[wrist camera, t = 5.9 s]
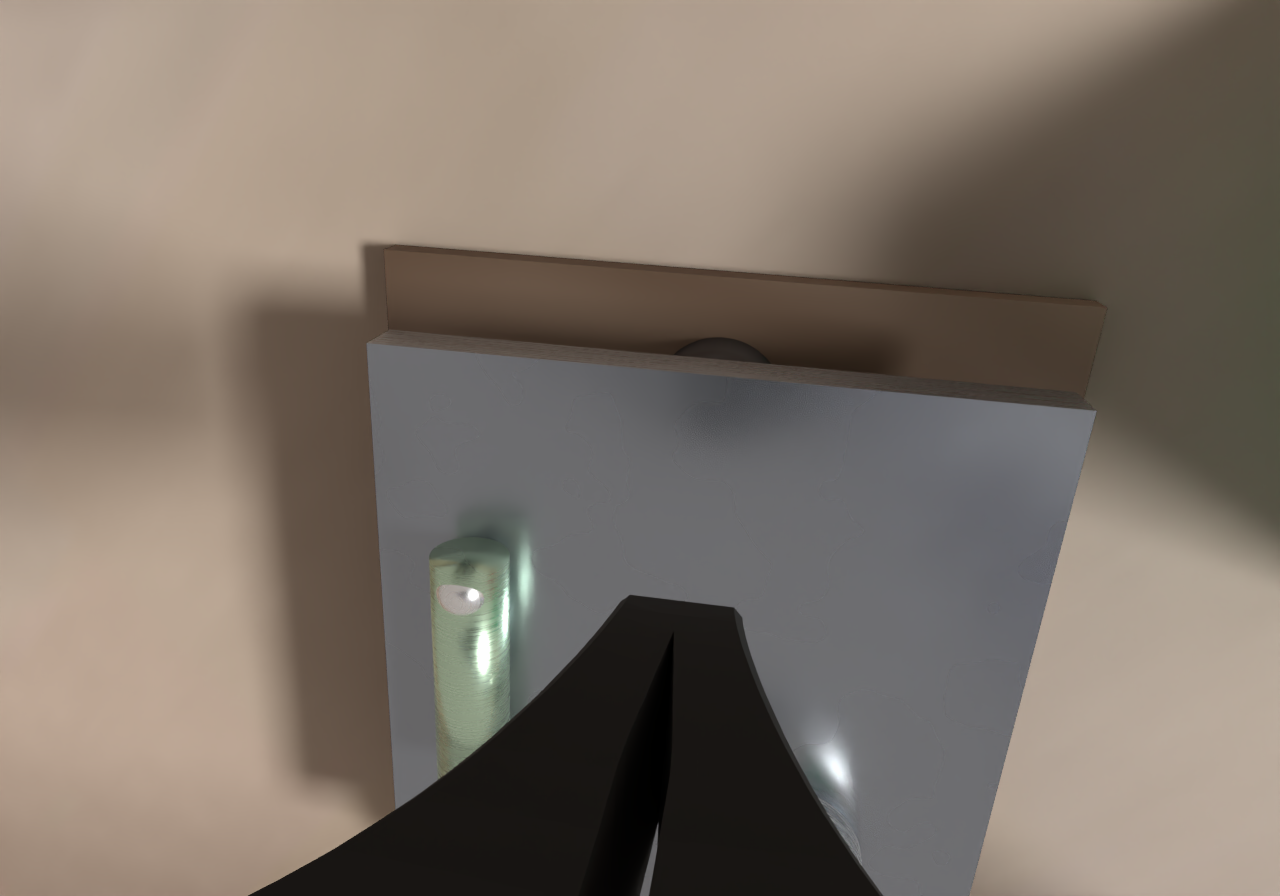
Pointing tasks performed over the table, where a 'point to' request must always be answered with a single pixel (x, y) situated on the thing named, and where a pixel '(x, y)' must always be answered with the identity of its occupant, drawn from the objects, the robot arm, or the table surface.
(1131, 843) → the table surface
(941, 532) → the level plate
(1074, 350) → the stand base
